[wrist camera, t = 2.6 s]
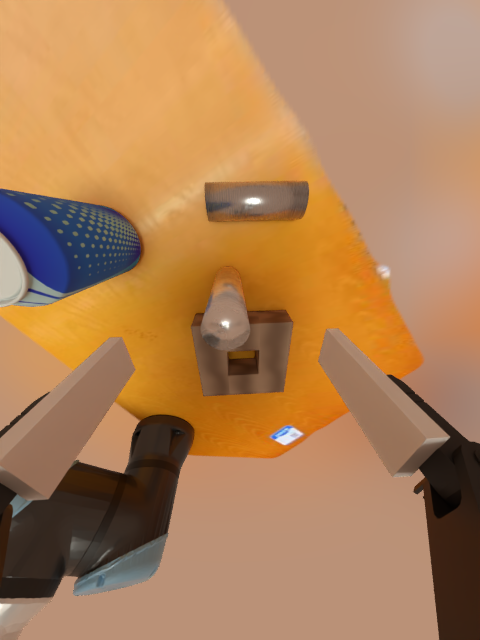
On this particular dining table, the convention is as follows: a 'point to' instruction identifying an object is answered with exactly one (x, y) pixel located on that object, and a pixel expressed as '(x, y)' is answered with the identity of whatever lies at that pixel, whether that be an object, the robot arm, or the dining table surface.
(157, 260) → the dining table surface
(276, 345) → the socket block
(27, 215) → the beer can
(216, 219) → the lying peg
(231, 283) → the peg
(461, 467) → the robot arm
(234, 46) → the dining table surface
